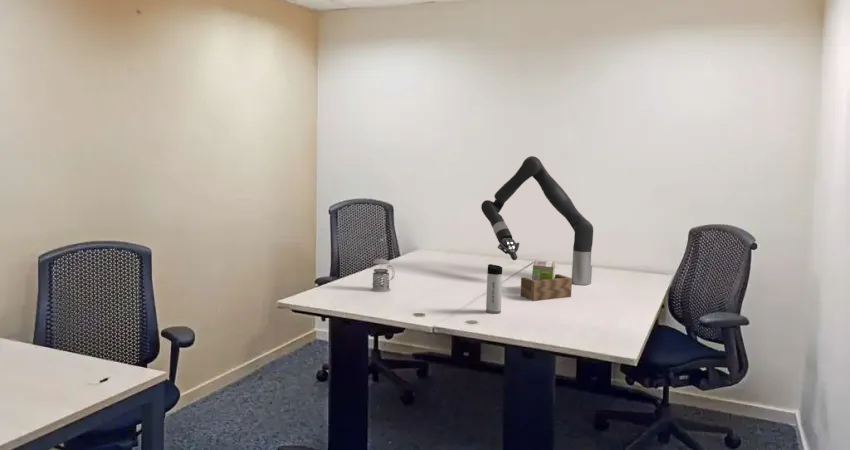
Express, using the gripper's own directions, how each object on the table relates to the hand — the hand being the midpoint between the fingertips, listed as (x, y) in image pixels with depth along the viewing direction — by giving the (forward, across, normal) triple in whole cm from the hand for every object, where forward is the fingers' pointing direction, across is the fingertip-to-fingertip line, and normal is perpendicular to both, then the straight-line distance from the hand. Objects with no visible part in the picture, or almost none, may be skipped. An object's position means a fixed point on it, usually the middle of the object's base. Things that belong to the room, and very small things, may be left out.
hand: (515, 259), depth 322 cm
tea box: (+24, +2, -4) cm, 24 cm away
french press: (-2, -66, +20) cm, 69 cm away
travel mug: (+38, -40, -19) cm, 58 cm away
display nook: (+27, -1, -8) cm, 29 cm away
